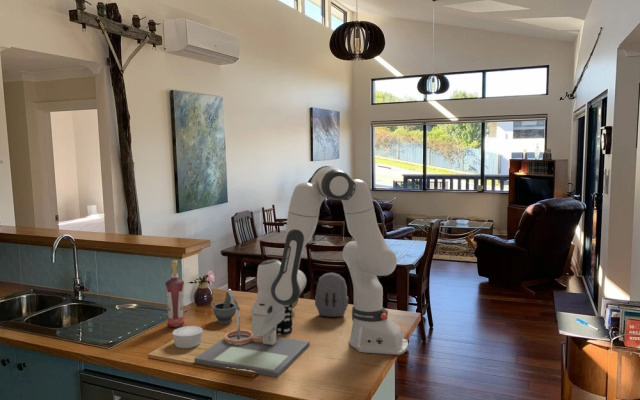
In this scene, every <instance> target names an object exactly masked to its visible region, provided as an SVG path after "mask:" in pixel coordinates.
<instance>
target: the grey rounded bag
mask: <svg viewBox="0 0 640 400" xmlns="http://www.w3.org/2000/svg"><path fill="white" fill-rule="evenodd" d="M315 293H316V294H315V296H314V301H315V304H314V305H315V307H316V308H317V309H316V310H317V311H318V315H320V316H324V317H329V318H333V317H334V318H339V317H343V316H345V313H346V310H347V307H348V306H349V296H348V287H347V283H346V279H345V278H344V277H343V276H341V274H339V273H336V272H326V273H323V274H322V275H321V276H320V277H319V278H318V282H317V285H316V292H315Z"/></svg>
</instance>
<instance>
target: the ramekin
mask: <svg viewBox="0 0 640 400" xmlns="http://www.w3.org/2000/svg"><path fill="white" fill-rule="evenodd" d="M203 333H204V330H203V328H202V327H200V326H196V325H187V326H181V327H179V328H174V330H173V331H172V337H173V342H174V345H175V347H176V348H178V349H192V348H195V347H198V346H199V345H200V344H201V342H202V336H203Z"/></svg>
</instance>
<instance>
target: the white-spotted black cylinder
mask: <svg viewBox="0 0 640 400" xmlns="http://www.w3.org/2000/svg"><path fill="white" fill-rule="evenodd" d="M284 309H285V318H284V320H283V321H281V322H280V323H279V324H277V328H276V335H279V336H283V335H285V336H286V335H290V334H291V333H293V309H292V304H291V305H284Z"/></svg>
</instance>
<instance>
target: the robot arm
mask: <svg viewBox="0 0 640 400" xmlns="http://www.w3.org/2000/svg"><path fill="white" fill-rule="evenodd" d="M327 198H328V199H331V200H335V201H341V203H342V207H343V211H344V217H345V222H346V227H347V231H348V233H349V234H350V235H351V237H352V238H353V240H351V241H348V242H347V243H346V244H345V245H344V247H343V250H342V258H343V261H344V262H345V263H346V266H347V268H348V270H349V274H350V277H351V282H352V288H353V306H352V309H351V320H352V327H351V332H350V336H349V337H350V338H349V341H348V343H349V345H350V346H351V347H353V348H354V349H356V350H357V351H358V352H359V353H367V354H368V353H369V354H382V355H383V354H384V355H395V356H398V355H402V354H404V353H405V352H407V351H408V349H409V342H408V340H407V339H406V338H403V333H402V330H401V327H400V326H398V325H397V324H396V323H395V322H393V320H391V319H390V318H389V316H388V314H389V309H388V308H385V307H383V305H384V304H383V302H384V298H383V296H384V293H383V292H384V291H383V289H384V288H383V285H382V283H380V281H379V279H378V276H381V277H382V276H384V277H385V276H389V275H391V274H393V272H394V271H395V270H396V267H397V264H398V261H397V260H398V258H397V256H396V254H395V252H394V251H393V250H392V249H391V248H390V247H389V246H388V244H387V242H386V240H385V239H384V236H383V235H382V232H381V230H380V227H379V225H378V221H377V216H376V212H375V206H374V203H373V197H372V194H371V192H370V189H369V186H368V184H367V183H366V181H365V180H362V179H358V178H355V179H352V178H351V177H350V175H349V174H348V173H347V172H345V171H344V170H342V169H341V168H338V167H335V166H329V165H324V166H320V167H318V169H316V170H315V171H314V173H313V174H312V175H311V177H310V178H309V180H308V181H307V182H301V183H299V184H297V185H296V186H295V187H294V190H293V192H292V196H291V198H290V201H289V207H288V211H287V218H286V219H287V220H286V231H285V239H284V240H285V243H284V249H283V252H282V257H281V261H280V260H279V259H277V258H276V259H275V258H273V259H272V258H271V259H266V260H264V261H262V262H261V263H260V264H258V267H257V274H256V286H257V294H256V296H257V297H256V298H257V299H256V300H255V302H254V303H253V305H252V307H251V308H250V313H251V314H252V316H251V332H253V334H254V335H255V336H264V341H265V342H269V341H270V336H269V335H268V333H269V330H276V328H277V324H279V323H280V322H281V321H283V320H284V318H285V309H284V305H291V304H293V303H295V302H296V301H297V299H298V297H300V295H301V293H302V292H303V291H304V290H305V288H306V286H307V281H308V280H307V279H308V278H307V277H306V274H305V273H304V272H303V271H302V270H301V269H299V268H300V263H301V258H302V254H303V251H304V249H305V247H306V245H307V244H308V242H309V241H310V240H311V238H312V237H313V236H314V233H315V231H316V228H317V225H318V223H319V217H320V209H321V206H322V203H323V202H324V201H325V199H327ZM298 300H299V299H298Z"/></svg>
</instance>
